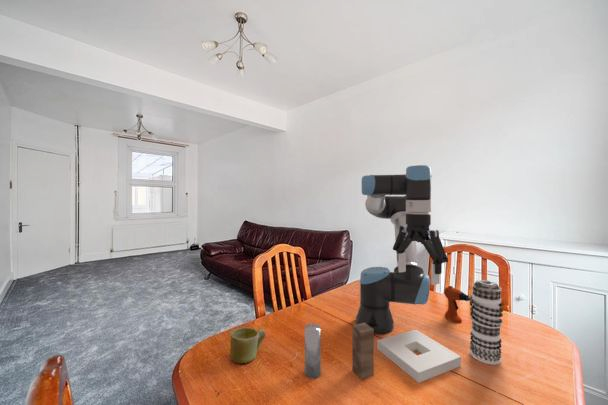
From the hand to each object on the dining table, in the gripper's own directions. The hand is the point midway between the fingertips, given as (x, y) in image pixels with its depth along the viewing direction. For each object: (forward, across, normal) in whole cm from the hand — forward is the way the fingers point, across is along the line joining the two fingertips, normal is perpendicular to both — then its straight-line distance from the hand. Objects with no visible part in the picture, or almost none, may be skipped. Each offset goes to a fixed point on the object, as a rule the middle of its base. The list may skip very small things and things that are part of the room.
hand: (417, 277), depth 85 cm
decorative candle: (+27, +9, +21) cm, 35 cm away
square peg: (+27, -1, -21) cm, 34 cm away
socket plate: (+27, 0, 0) cm, 27 cm away
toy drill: (+27, -9, +34) cm, 44 cm away
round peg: (+27, -7, -35) cm, 45 cm away
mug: (+27, -24, -51) cm, 63 cm away
